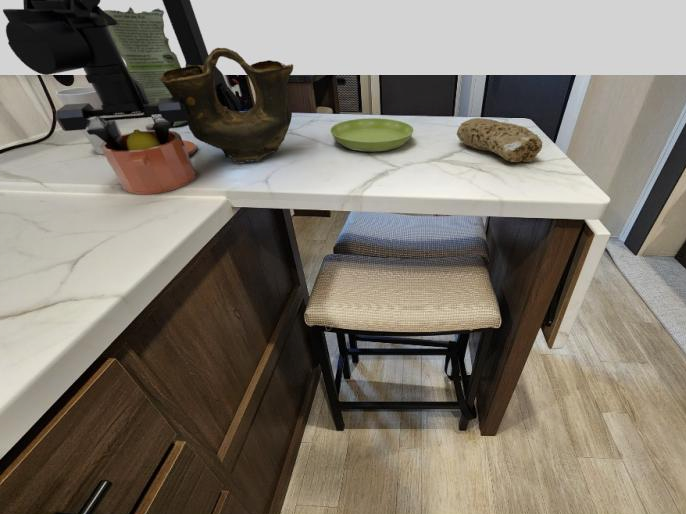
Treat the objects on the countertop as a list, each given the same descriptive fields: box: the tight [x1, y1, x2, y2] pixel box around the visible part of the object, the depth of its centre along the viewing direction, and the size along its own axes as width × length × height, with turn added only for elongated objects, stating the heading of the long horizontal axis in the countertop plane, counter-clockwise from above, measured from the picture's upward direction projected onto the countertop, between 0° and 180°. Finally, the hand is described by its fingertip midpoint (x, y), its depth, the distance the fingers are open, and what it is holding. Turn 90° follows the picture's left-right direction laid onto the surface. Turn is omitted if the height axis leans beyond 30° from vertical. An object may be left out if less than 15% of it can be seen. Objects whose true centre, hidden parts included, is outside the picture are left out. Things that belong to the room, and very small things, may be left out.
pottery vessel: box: [159, 47, 294, 164], centre depth 69 cm, size 25×11×20 cm, turn 116°
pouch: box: [103, 6, 187, 127], centre depth 86 cm, size 11×12×25 cm
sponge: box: [456, 117, 543, 163], centre depth 77 cm, size 13×8×20 cm
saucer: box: [330, 117, 415, 153], centre depth 83 cm, size 21×21×3 cm
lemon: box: [127, 129, 160, 151], centre depth 62 cm, size 6×6×8 cm
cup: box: [55, 86, 123, 155], centre depth 74 cm, size 8×8×12 cm
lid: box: [145, 123, 197, 156], centre depth 74 cm, size 14×14×6 cm
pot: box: [99, 130, 197, 195], centre depth 63 cm, size 13×18×8 cm
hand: (152, 163), depth 63 cm, fingers closed on lemon, 5 cm apart
